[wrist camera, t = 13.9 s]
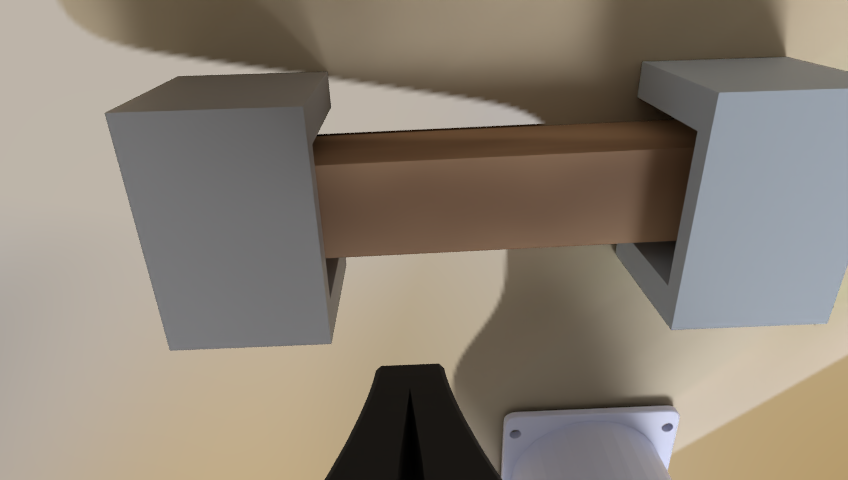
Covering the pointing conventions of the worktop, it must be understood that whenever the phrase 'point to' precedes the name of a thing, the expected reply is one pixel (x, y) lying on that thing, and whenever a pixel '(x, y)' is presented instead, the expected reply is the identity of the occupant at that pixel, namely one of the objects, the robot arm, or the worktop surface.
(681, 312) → the blue-grey block
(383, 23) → the worktop surface
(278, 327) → the end cap fixed
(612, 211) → the slat
